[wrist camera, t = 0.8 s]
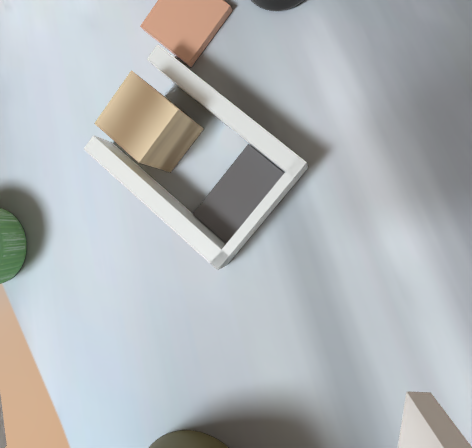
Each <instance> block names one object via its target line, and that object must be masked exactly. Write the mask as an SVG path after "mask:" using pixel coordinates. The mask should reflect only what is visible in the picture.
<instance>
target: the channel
mask: <svg viewBox="0 0 472 448" xmlns="http://www.w3.org/2000/svg"><path fill="white" fill-rule="evenodd" d="M147 60H148V61H149V62H151V63H152V64H153V65H154V66H155V67H156V68H157V69H158V70H159V71H160V72H161V73H162V74H164V75H165V76H166V77H167V78H169V79H170V80H171V81H172V82H174V83H175V84H176V85H177V86H179V87H180V88H181V89H182V90H184V91H185V92H186V93H187V94H188V95H190V96H191V97H192V98H193V99H195V100H196V101H197V102H198V103H200V104H201V105H202V106H203V107H205V108H206V109H207V110H208V111H209V112H211V113H212V114H213V115H214V116H216V117H217V118H218V119H219V120H221V121H222V122H223V123H224V124H226V125H227V126H228V127H229V128H231V129H232V130H233V131H234V132H235V133H237V134H238V135H239V136H240V137H242V138H243V139H244V140H245V141H247V142H248V143H249V144H250V145H252V146H253V147H254V148H255V149H256V150H258V151H259V152H260V153H261V154H263V155H264V156H265V157H266V158H268V159H269V160H270V161H271V162H273V163H274V164H275V165H276V166H278V167H279V168H280V169H281V170H282V171H284V172H285V173H283V172H282V171H281V170H280V169H278V168H277V167H276V166H275V165H274V164H272V163H271V162H270V161H269V160H267V159H266V158H265V157H264V156H262V155H261V154H260V153H259V152H257V151H256V150H255V149H254V148H253V147H251V146H250V145H249V144H248V145H247V146H246V148H245V149H244V150H243V151H242V153H241V154H240V155H239V156H238V158H237V159H236V160H235V161H234V163H233V164H232V165H231V167H230V168H229V169H228V170H227V172H226V173H225V174H224V175H223V177H222V178H221V179H220V180H219V182H218V183H217V184H216V185H215V187H214V188H213V189H212V191H211V192H210V193H209V194H208V196H207V197H206V198H205V199H204V201H203V202H202V203H201V204H200V206H199V207H198V208H197V210H196V211H195V212H194V213H192V212H190V211H189V210H188V209H187V208H186V207H185V206H184V205H183V204H181V203H180V202H179V201H178V200H177V199H176V198H175V197H173V196H172V195H171V194H170V193H169V192H168V191H167V190H166V189H164V188H163V187H162V186H161V185H160V184H159V183H158V182H156V181H155V180H154V179H153V178H152V177H151V176H150V175H149V174H147V173H146V172H145V171H144V170H143V169H142V168H141V167H139V166H138V165H137V164H136V163H135V162H134V161H133V160H132V159H130V158H129V157H128V156H127V155H126V154H125V153H124V152H122V151H121V150H120V149H119V148H118V147H117V146H116V145H115V144H113V143H112V142H109V141H107V140H104V139H101V138H99V137H96V136H93V137H92V138H91V139H90V141H89V142H88V144H87V145H86V146H85V148H84V150H85V151H86V152H87V153H88V154H90V155H91V156H92V157H93V158H94V159H95V160H96V161H97V162H98V163H99V164H101V165H102V166H103V167H104V168H105V169H106V170H107V171H108V172H109V173H111V174H112V175H113V176H114V177H115V178H116V179H117V180H118V181H119V182H120V183H122V184H123V185H124V186H125V187H126V188H127V189H128V190H129V191H130V192H132V193H133V194H134V195H135V196H136V197H137V198H138V199H139V200H140V201H142V202H143V203H144V204H145V205H146V206H147V207H148V208H149V209H150V210H151V211H153V212H154V213H155V214H156V215H157V216H158V217H159V218H160V219H161V220H163V221H164V222H165V223H166V224H167V225H168V226H169V227H170V228H171V229H172V230H174V231H175V232H176V233H177V234H178V235H179V236H180V237H181V238H182V239H184V240H185V241H186V242H187V243H188V244H189V245H190V246H191V247H192V248H193V249H195V250H196V251H197V252H198V253H199V254H200V255H201V256H202V257H203V258H205V259H206V260H207V261H208V262H209V263H210V264H211V265H212V266H213V267H215V268H216V269H217V270H219V269H221V268H223V267H225V266H227V265H228V263H229V262H230V261H231V260H232V259H233V257H234V256H235V255H236V254H237V253H238V251H239V250H240V249H241V248H242V247H243V245H244V244H245V243H246V242H247V241H248V239H249V238H250V237H251V236H252V235H253V233H254V232H255V231H256V230H257V229H258V227H259V226H260V225H261V224H262V223H263V221H264V220H265V219H266V218H267V217H268V215H269V214H270V213H271V212H272V211H273V209H274V208H275V207H276V206H277V205H278V203H279V202H280V201H281V200H282V199H283V197H284V196H285V195H286V194H287V193H288V191H289V190H290V189H291V188H292V187H293V185H294V184H295V183H296V182H297V181H298V179H299V178H300V177H301V176H302V175H303V173H304V172H305V171H306V170H307V169H308V165H307V162H306V161H304V160H303V159H302V158H301V157H299V156H298V155H297V154H296V153H294V152H293V151H292V150H290V149H289V148H288V147H287V146H285V145H284V144H283V143H282V142H280V141H279V140H278V139H277V138H275V137H274V136H273V135H272V134H270V133H269V132H268V131H266V130H265V129H264V128H263V127H261V126H260V125H259V124H258V123H256V122H255V121H254V120H253V119H251V118H250V117H249V116H248V115H246V114H245V113H244V112H242V111H241V110H240V109H239V108H237V107H236V106H235V105H234V104H232V103H231V102H230V101H229V100H227V99H226V98H225V97H224V96H222V95H221V94H220V93H218V92H217V91H216V90H215V89H213V88H212V87H211V86H210V85H208V84H207V83H206V82H205V81H203V80H202V79H201V78H200V77H198V76H197V75H196V74H194V73H193V72H192V71H191V70H189V69H188V68H187V67H186V66H184V65H183V64H182V63H181V62H179V61H178V60H177V59H176V58H174V57H173V56H172V55H171V54H169V53H168V52H167V51H165V50H164V49H163V48H162V47H160V46H159V45H158V44H157V46H156V47H155V49H154V50H153V51H152V53H151V54H150V56H149V57H148V58H147Z"/></svg>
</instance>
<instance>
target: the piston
mask: <svg viewBox="0 0 472 448" xmlns="http://www.w3.org/2000/svg"><path fill="white" fill-rule="evenodd" d="M149 448H229V447H227V446H226V445H225V444H224V443H222V442H221V441H219V440H218V439H216V438H214V437H212V436H210V435H208V434H205V433H202V432H198V431H191V430H180V431H175V432H171V433H168V434H166V435H164V436H162V437H160V438H159V439H157V440H156V441H155V442H154V443H152V444H151V446H150V447H149Z"/></svg>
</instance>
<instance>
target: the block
mask: <svg viewBox="0 0 472 448" xmlns="http://www.w3.org/2000/svg"><path fill="white" fill-rule="evenodd" d="M94 124H96V125H97V126H98V127H99V128H100V129H101V130H102V131H104V132H105V133H106V134H107V135H108V136H109V137H110V138H111V139H113V140H114V141H115V142H116V143H117V144H118V145H119V146H121V147H122V148H123V149H124V150H125V151H126V152H127V153H128V154H130V155H131V156H132V157H133V158H134V159H135V160H136V161H138V162H139V163H141V164H145V165H148V166H151V167H154V168H157V169H161V170H164V171H167V172H170V173H171V172H172V170H173V169H174V168H175V166H176V165H177V164H178V162H179V161H180V160H181V158H182V157H183V156H184V154H185V153H186V152H187V150H188V149H189V148H190V147H191V145H192V144H193V143H194V141H195V140H196V139H197V137H198V136H199V135H200V133H201V132H202V131H203V128H202V127H201V126H200V125H199V124H197V123H196V122H195V121H194V120H193V119H191V118H190V117H189V116H188V115H186V114H185V113H184V112H183V111H182V110H180V109H179V108H178V107H177V106H175V105H174V104H173V103H172V102H171V101H169V100H168V99H167V98H166V97H165V96H163V95H162V94H161V93H159V92H158V91H157V90H156V89H154V88H153V87H152V86H151V85H149V84H148V83H147V82H145V81H144V80H143V79H142V78H140V77H139V76H138V75H136V74H135V73H134V72H133V71H131V72H130V73H129V75H128V76H127V77H126V79H125V80H124V82H123V83H122V85H121V86H120V87H119V89H118V90H117V92H116V93H115V95H114V96H113V97H112V99H111V100H110V102H109V103H108V105H107V106H106V107H105V109H104V110H103V112H102V113H101V115H100V116H99V117H98V119H97V120H96V122H95V123H94Z"/></svg>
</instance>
